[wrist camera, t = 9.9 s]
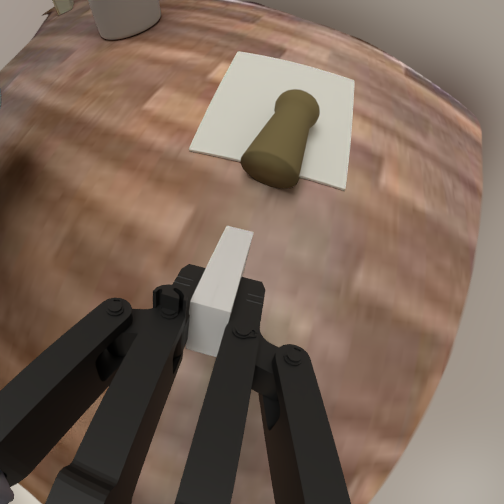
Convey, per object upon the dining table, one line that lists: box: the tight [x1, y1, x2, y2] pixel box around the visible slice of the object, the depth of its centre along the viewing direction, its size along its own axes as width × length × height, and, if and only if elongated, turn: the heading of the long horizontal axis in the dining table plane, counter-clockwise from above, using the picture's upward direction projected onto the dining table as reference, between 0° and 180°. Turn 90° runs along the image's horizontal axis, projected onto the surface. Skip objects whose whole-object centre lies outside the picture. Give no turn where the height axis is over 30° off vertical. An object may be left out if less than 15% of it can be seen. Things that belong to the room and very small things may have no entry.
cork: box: [241, 89, 320, 188], centre depth 29 cm, size 6×6×11 cm
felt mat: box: [189, 51, 354, 191], centre depth 33 cm, size 20×18×1 cm
